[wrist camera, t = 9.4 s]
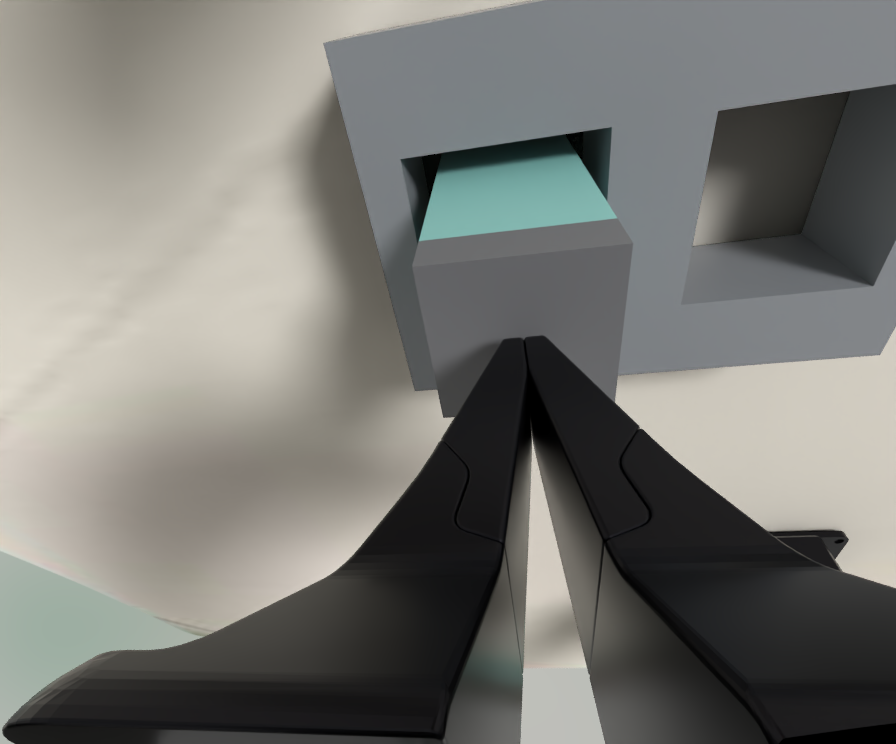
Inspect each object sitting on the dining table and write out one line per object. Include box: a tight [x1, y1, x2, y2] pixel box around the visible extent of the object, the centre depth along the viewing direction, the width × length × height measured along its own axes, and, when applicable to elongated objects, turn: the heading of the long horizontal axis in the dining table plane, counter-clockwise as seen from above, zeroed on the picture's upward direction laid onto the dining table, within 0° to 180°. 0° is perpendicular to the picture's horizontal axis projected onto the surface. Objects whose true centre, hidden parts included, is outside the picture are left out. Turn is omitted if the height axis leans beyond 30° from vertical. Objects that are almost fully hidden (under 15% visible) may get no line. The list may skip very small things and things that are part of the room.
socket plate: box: [323, 0, 896, 391], centre depth 14 cm, size 11×16×4 cm
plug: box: [412, 134, 633, 418], centre depth 13 cm, size 4×4×9 cm
